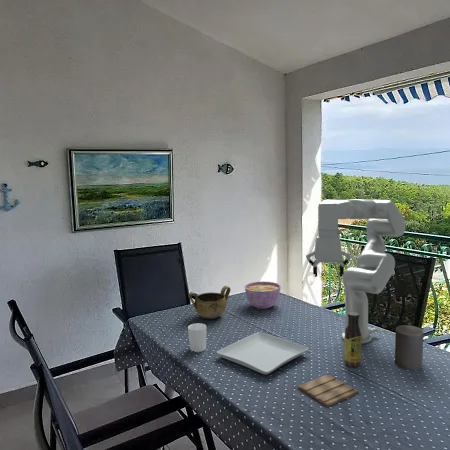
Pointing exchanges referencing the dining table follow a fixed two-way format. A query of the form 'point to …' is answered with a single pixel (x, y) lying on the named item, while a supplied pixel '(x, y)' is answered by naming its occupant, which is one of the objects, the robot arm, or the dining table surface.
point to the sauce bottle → (352, 341)
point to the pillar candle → (409, 347)
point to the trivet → (328, 390)
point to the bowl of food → (262, 294)
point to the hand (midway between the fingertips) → (328, 276)
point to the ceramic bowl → (210, 303)
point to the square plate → (262, 352)
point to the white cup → (197, 337)
